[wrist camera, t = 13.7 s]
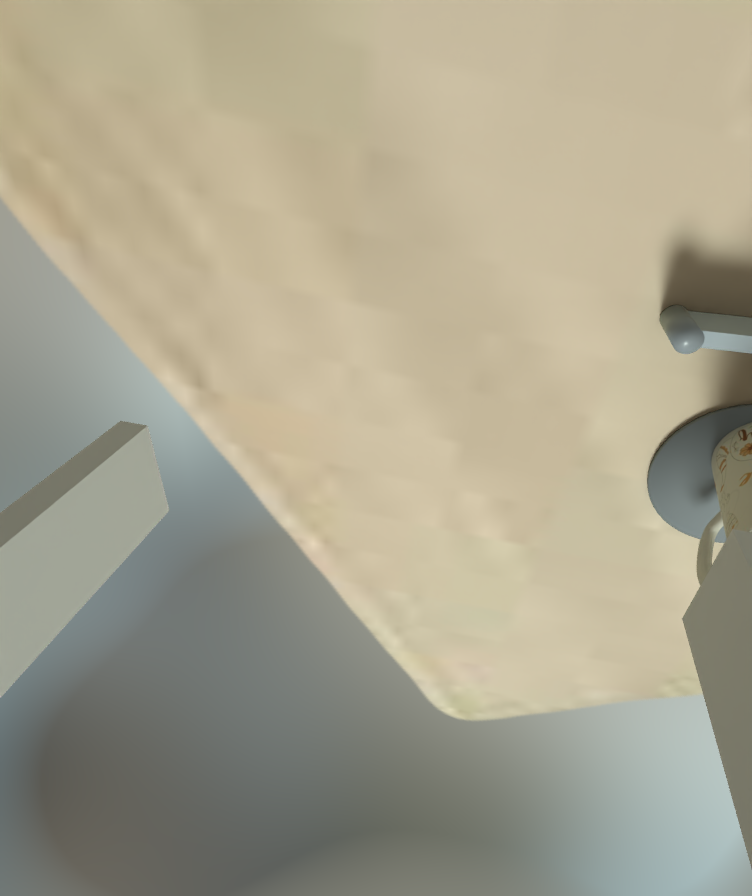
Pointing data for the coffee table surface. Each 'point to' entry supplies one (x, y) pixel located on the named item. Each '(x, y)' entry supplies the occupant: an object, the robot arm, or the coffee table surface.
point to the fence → (706, 330)
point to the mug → (729, 492)
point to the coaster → (692, 471)
